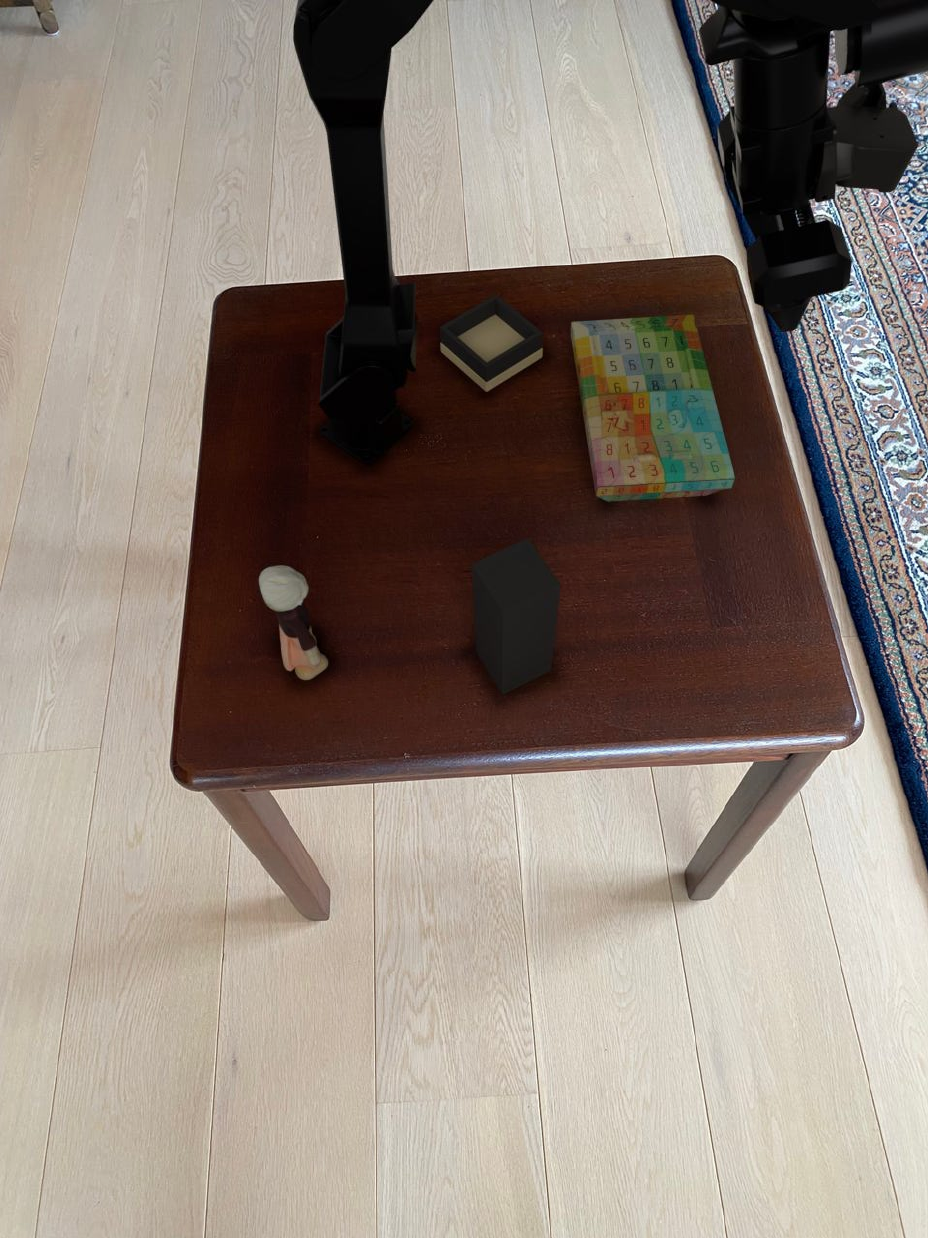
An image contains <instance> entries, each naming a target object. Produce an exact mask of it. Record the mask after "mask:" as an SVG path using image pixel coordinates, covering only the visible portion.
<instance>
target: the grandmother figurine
mask: <svg viewBox="0 0 928 1238" xmlns="http://www.w3.org/2000/svg"><path fill="white" fill-rule="evenodd" d="M258 584H259V589H260V593H261V596H262V599H263V602H264V603H265V605H266V606H267V607H268V608H269V609H271V610H272V611H273V612H274V614H275V616H276V618H277V621H278V627H279V640H280V651H281V652H280V653H281V659H282V662H283V667H284V668H285V670H286V671H289V672H292V671H293V670H294V672H295V674H296V676H297V678H299V679H300V680H303V681H308V680H312V679H313V678H315V677H317V676H319V674H321V673H322V672H323V671H325V670H326V669H327V668H328V666H329V659H328V658H327V656H326V655H324V654H323V653H321V652H320V650H319V648H318V646H317V644H318V643H317V637H316V636H315V634H313V630H312V619H311V616H310V612H309V611H308V609H307V607H306V605H305V603H304V600H305V598H306V597H307V596H308V593H309V584H308V582H307V579H306V578H305V576H304V575H303V574H302V573H300V572H299V571H297V570H295V569H294V568H293V567H291V566H288V565H282V564H281V565H273V566H268V567H266V568H264V569H263V570H262V571H261V572H260V573H259V577H258Z"/></svg>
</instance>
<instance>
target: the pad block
mask: <svg viewBox="0 0 928 1238" xmlns="http://www.w3.org/2000/svg"><path fill="white" fill-rule="evenodd" d="M471 568H472V569H471V571H472V594H473V595H472V596H473V614H474V616H473V617H474V638H475V639H474V640H475V653H476V655H477V656H478V658H479V659H480V661H481V663H482V664H483V665H484V667H485V669H486V671H487V673H488V674H489V676H490V677H491V679H492V680H493V682H494V684H495V685H496V687H497V688H498V690H499V692H500V694H501V695H502V696H503V695H506V694H508V693H509V692H511V691H513V690H515V689H517V688H520V687H521V686H524V685H525V684H527V683H530V682H531V681H533V680H536V679H537V678H540V677H541V676H543V675H545V674H547V673H549V672H551V671H552V667H553V656H554V650H555V649H554V648H555V641H556V640H555V639H556V633H557V632H556V631H557V621H558V613H559V612H558V611H559V603H560V594H561V586H562V585H561V583H560V581H559V580H558V579H557V577H556V575H555V574H554V573H553V572H552V570H551V568H550V567H549V566H548V564H547V563H546V561H545V560H544V558H543V557H542V555H541V554H540V553H539V551H538V550H537V548H536V547H535V546H534V544H533V542H531V539H529V537H526V538H524V539H522V540H520V541H518V542H516V543H513V544H511V545H510V546H507V547H505V548H503V549H501V550H497V552H494V553H492V554H490V555H487V556H486V557H483V558H481V559H479V560H477V561H474V562H473V563H472V564H471Z"/></svg>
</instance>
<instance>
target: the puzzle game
mask: <svg viewBox="0 0 928 1238" xmlns="http://www.w3.org/2000/svg"><path fill="white" fill-rule="evenodd" d="M570 337H571V343H572V344H571V345H572V351H573V357H574V363H575V371H576V377H577V383H578V391H579V396H580V403H581V409H582V415H583V423H584V428H585V435H586V443H587V448H588V455H589V460H590V468H591V475H592V480H593V488H594V493H595V497H597V498H599V499H602V500H604V501H606V502H622V501H640V500H655V499H656V500H657V499H658V500H659V499H673V498H688V497H691V498H692V497H705V496H706V497H707V496H709V495H711V494H715V493H718V492H720V491H723V490H729V489H732V488H733V486H734V483H735V480H736V478H735V473H734V468H733V465H732V460H731V456H730V452H729V448H728V444H727V441H726V437H725V433H724V429H723V425H722V421H721V417H720V413H719V409H718V405H717V402H716V398H715V394H714V390H713V385H712V381H711V377H710V374H709V369H708V365H707V362H706V359H705V355H704V350H703V347H702V346H703V345H702V343H701V339H700V334H699V331H698V327H697V322H696V319H695V315H694V314H681V315H680V314H679V315H664V316H648V317H647V316H646V317H631V318H630V317H629V318H613V319H599V320H598V319H597V320H595V319H594V320H581V321H579V320H578V321H571V322H570Z"/></svg>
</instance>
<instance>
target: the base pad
mask: <svg viewBox="0 0 928 1238" xmlns="http://www.w3.org/2000/svg"><path fill="white" fill-rule="evenodd" d="M439 333H440V353H442V354H443V355H444V356H445V357H446V358H447V359H449V360H450V362H452V363H453V364H454V365H455V366H456V367H457V368H459V370H461V371H462V372H463V373H464V374H465V375H466V376H468V378H470V379H471V380H472V381H473V382H474V383H475V384H477V385H478V386H479V387H480V388H481V389H482V390H484V392H486V393H488V392H490V390H492V389H494V388H496V387H497V386H499V385H500V384H502V383H503V382H505V381H507V380H508V379H510V378H512V377H513V376H515V375H516V374H518V373H520V372H521V371H523V370H524V369H526V368H528V367H529V366H531V365H533V364H534V363H535V362H537V361H539V360H541V359H542V358H543V352H544V351H543V350H544V348H543V340H544V332H543V331H541V330H540V329H539V328H538V327H537V326H535V325H534V324H533V323H532V322H531V321H529V319H527V318H526V317H525V316H523V315H522V314H521V313H520V312H518V311H517V310H516V309H515V308H514V307H512V306H511V305H510V304H509V303H508V302H507V301H505V300H504V299H503V298H501V297H500V296H499V295H497V294H494V295H492V296H490V297H489V298H487V299H485V300H484V301H481V302H480V303H479V304H477V305H476V306H474V307H472V308H470V309H468V310H467V311H465V312H463V313H461V314H460V315H458V316H456V317H455V318H453V319H451V320H449V321H448V322H446V323H444V324H442V325H441V326H439Z"/></svg>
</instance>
